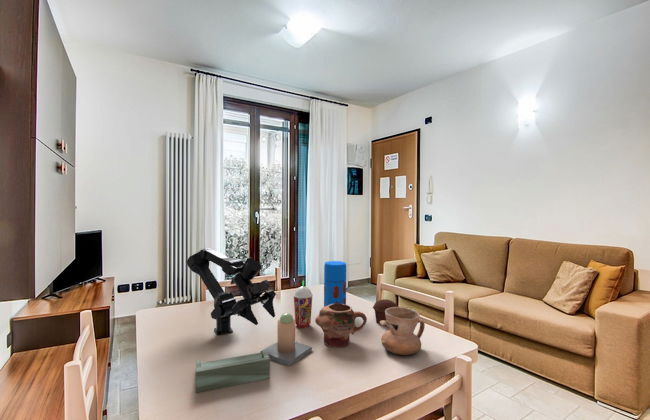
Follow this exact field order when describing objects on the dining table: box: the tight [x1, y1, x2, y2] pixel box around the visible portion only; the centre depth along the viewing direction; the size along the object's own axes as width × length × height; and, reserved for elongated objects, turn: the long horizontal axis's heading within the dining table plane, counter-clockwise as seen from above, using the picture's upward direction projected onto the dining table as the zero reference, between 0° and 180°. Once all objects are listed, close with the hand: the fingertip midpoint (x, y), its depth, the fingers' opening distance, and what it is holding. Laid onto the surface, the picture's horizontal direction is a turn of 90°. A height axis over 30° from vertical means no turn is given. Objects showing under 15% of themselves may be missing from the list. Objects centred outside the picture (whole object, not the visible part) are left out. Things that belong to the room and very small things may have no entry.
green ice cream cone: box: [276, 312, 296, 353], centre depth 113 cm, size 6×6×13 cm
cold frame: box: [195, 349, 271, 394], centre depth 99 cm, size 13×21×6 cm, turn 112°
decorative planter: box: [314, 303, 368, 348], centre depth 122 cm, size 20×12×14 cm, turn 97°
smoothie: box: [293, 280, 313, 329], centre depth 139 cm, size 8×8×20 cm
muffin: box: [372, 298, 399, 327], centre depth 143 cm, size 12×11×10 cm
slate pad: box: [259, 341, 313, 367], centre depth 113 cm, size 13×13×2 cm
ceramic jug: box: [380, 306, 425, 356], centre depth 116 cm, size 18×14×14 cm
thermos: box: [323, 260, 347, 307], centre depth 153 cm, size 11×11×25 cm
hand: (266, 320), depth 118 cm, fingers open, 9 cm apart
